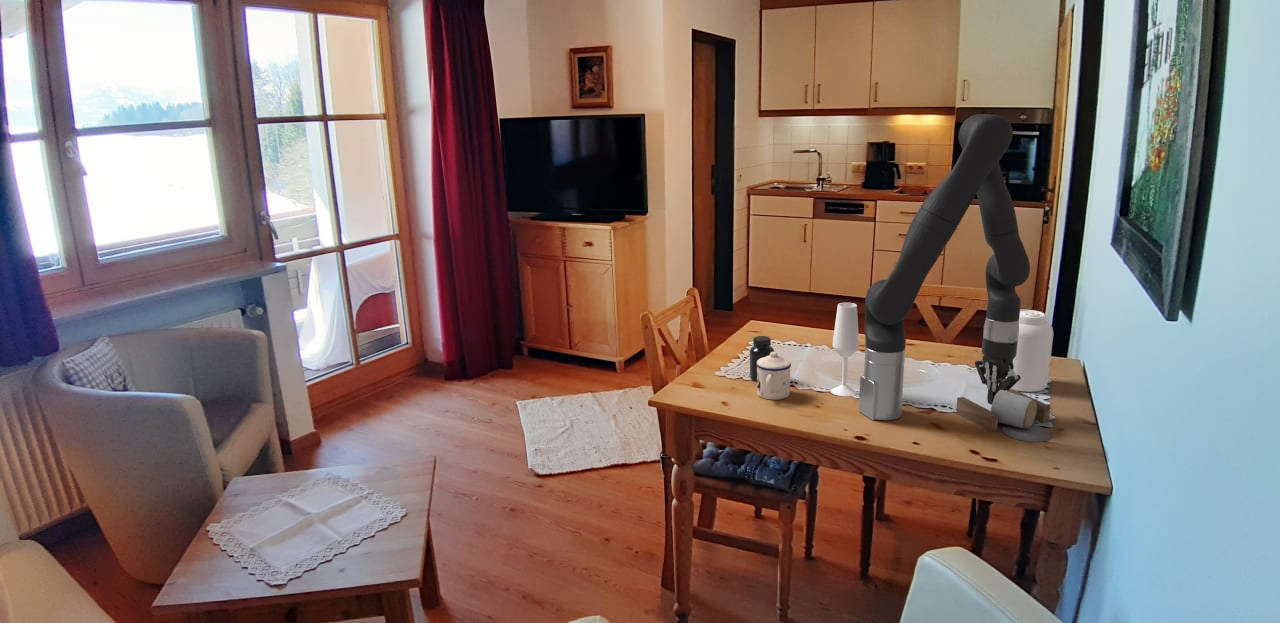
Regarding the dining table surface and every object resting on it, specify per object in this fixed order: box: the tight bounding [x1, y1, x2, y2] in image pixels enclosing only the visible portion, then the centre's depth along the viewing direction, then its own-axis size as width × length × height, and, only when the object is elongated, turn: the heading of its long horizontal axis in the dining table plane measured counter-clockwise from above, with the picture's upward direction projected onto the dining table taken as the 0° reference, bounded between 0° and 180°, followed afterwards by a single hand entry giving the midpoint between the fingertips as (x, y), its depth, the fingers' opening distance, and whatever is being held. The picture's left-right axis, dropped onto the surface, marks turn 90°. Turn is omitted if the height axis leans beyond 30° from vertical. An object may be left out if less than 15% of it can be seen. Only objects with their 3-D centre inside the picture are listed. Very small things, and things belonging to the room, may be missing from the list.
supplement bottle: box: [749, 335, 775, 383], centre depth 209 cm, size 7×7×12 cm
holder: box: [955, 389, 1051, 433], centre depth 178 cm, size 16×12×4 cm
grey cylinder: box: [990, 390, 1037, 429], centre depth 174 cm, size 11×8×8 cm
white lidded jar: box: [1011, 308, 1054, 393], centre depth 196 cm, size 12×12×20 cm
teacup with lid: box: [756, 351, 792, 401], centre depth 196 cm, size 12×9×12 cm
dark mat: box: [1001, 424, 1052, 443], centre depth 170 cm, size 10×10×1 cm
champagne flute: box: [830, 302, 860, 397], centre depth 195 cm, size 7×7×24 cm
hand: (993, 404), depth 181 cm, fingers closed
